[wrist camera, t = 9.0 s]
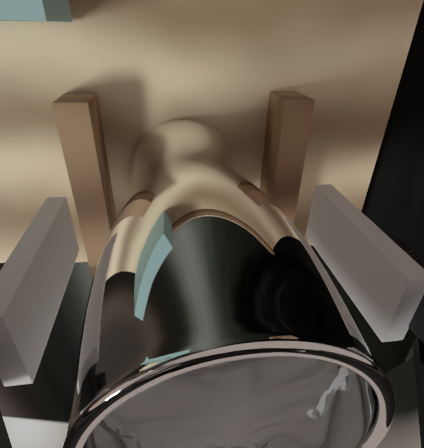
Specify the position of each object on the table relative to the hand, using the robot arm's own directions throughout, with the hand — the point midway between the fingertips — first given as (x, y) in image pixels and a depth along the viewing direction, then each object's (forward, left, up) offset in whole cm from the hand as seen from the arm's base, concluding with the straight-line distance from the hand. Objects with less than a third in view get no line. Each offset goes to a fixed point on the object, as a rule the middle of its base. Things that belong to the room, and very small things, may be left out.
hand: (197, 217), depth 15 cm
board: (-2, -1, -6) cm, 7 cm away
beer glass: (0, 0, -5) cm, 5 cm away
